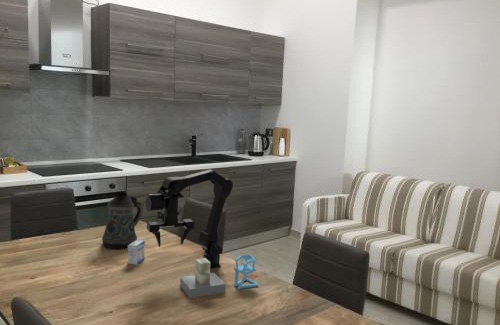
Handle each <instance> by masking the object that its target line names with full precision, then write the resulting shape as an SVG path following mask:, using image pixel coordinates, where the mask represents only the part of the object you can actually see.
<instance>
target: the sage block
mask: <svg viewBox="0 0 500 325" xmlns="http://www.w3.org/2000/svg"><path fill="white" fill-rule="evenodd" d="M194 267H195V272H194V273H195V274H194V275H195V279H196V280H197V281H198V282H199V283H200V284H203V283H208V282H210V273H211V268H210V262H209V261H208V260H207V259H206V258H203V257H202V258H196V259H195V266H194Z"/></svg>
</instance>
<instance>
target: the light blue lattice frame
mask: <svg viewBox="0 0 500 325" xmlns="http://www.w3.org/2000/svg"><path fill="white" fill-rule="evenodd" d="M242 259H244V261H245V262H244V263H243V264H242V265H239V261H240V260H242ZM234 261H235V266H234V267H233V270H234V272H235V273H234V284H233V287H237V289H238V290H240V289H247V288H254V287H258V286H259V283H257V282H256V281H254V280H251V279H250V278H248V276H249V275H250V274H252V273H255V272H257V268H255V265H256V263H257V262H256V261H257V260H256V259H255V257H254V256H252V255H249V254H244V255H240V256H238V257H237V258H235V259H234ZM250 263H252V265H249V264H250ZM239 274H242V275H243V277H242V278H241V280H239ZM246 281H247V282H248V283H249V284H244V282H246Z"/></svg>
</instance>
